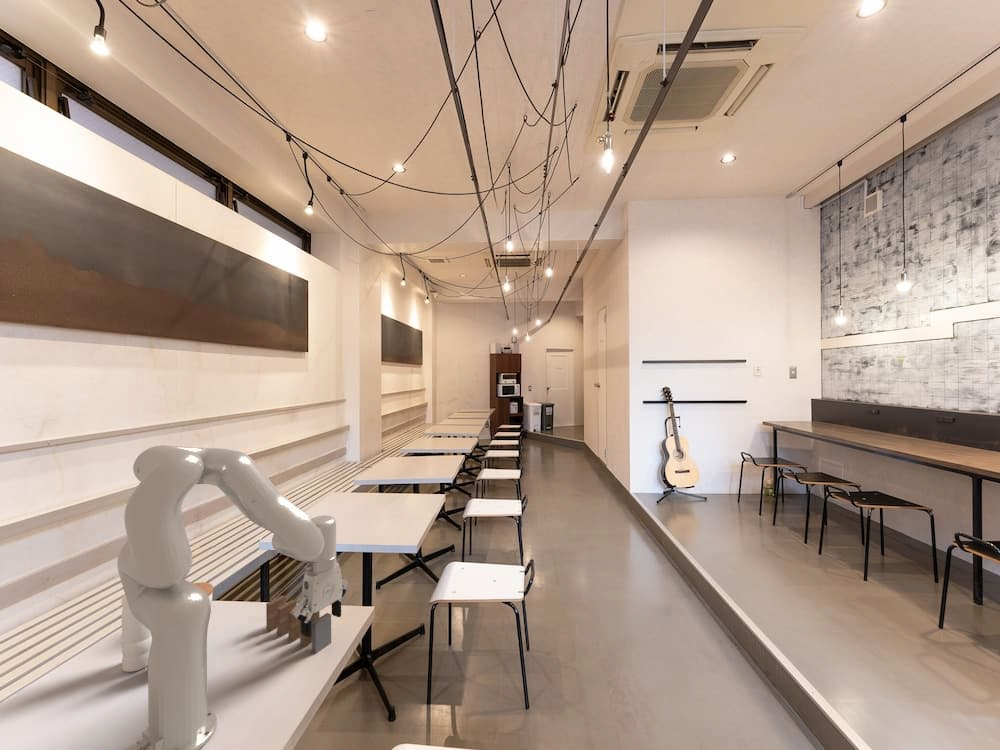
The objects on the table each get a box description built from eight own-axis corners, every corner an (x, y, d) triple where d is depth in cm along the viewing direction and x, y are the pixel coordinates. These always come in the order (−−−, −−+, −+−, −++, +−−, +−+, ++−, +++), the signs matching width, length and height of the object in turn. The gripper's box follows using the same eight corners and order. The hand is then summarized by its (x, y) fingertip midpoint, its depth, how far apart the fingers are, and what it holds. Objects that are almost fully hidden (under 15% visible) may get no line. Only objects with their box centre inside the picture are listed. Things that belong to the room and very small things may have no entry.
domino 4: (319, 637, 116) (319, 609, 116) (304, 648, 112) (303, 619, 112) (315, 635, 117) (315, 608, 117) (300, 646, 112) (300, 617, 112)
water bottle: (116, 667, 104) (116, 570, 104) (150, 651, 111) (149, 559, 111) (129, 677, 101) (128, 576, 101) (163, 659, 107) (162, 565, 107)
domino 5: (331, 642, 114) (331, 614, 114) (315, 653, 109) (315, 624, 109) (327, 641, 114) (327, 612, 114) (311, 652, 110) (311, 622, 110)
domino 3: (307, 632, 118) (307, 605, 118) (292, 642, 114) (292, 614, 114) (304, 630, 119) (304, 603, 119) (288, 640, 115) (288, 612, 115)
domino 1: (285, 622, 123) (285, 596, 123) (269, 632, 119) (269, 604, 118) (282, 621, 124) (282, 595, 124) (266, 630, 119) (266, 603, 119)
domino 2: (296, 627, 121) (296, 600, 121) (280, 637, 116) (280, 609, 116) (293, 626, 121) (292, 599, 121) (277, 635, 117) (277, 607, 117)
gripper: (302, 580, 102) (303, 648, 102) (355, 553, 118) (356, 612, 118) (283, 573, 106) (284, 639, 106) (337, 548, 121) (338, 605, 121)
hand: (322, 625), depth 112 cm, fingers open, 9 cm apart
